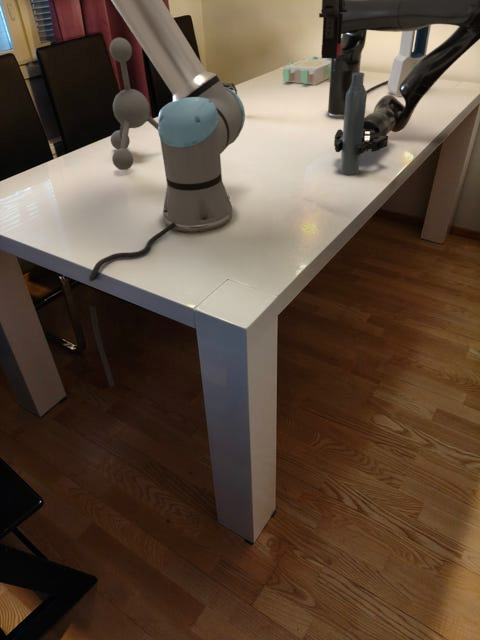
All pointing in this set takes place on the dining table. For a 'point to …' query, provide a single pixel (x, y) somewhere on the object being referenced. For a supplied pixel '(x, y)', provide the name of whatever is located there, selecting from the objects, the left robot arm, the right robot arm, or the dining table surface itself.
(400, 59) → the electronic device
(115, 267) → the dining table surface
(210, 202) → the left robot arm
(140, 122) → the molecular model
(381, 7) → the right robot arm
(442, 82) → the dining table surface
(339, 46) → the cap
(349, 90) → the bottle
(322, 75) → the decorative block
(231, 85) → the grenade
